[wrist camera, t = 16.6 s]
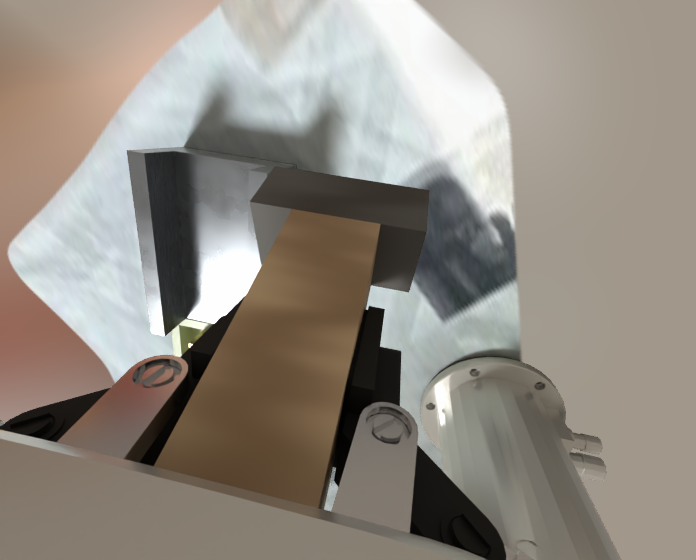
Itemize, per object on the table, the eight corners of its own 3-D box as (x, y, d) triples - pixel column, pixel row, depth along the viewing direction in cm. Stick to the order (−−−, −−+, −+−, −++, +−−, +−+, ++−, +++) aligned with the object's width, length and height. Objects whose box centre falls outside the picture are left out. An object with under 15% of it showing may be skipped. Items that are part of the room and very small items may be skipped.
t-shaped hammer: (429, 190, 13) (406, 533, 6) (413, 250, 15) (382, 549, 8) (274, 166, 13) (75, 449, 6) (281, 227, 15) (140, 487, 8)
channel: (296, 164, 26) (267, 173, 21) (286, 319, 32) (261, 357, 27) (183, 147, 27) (126, 150, 22) (193, 300, 33) (151, 333, 27)
